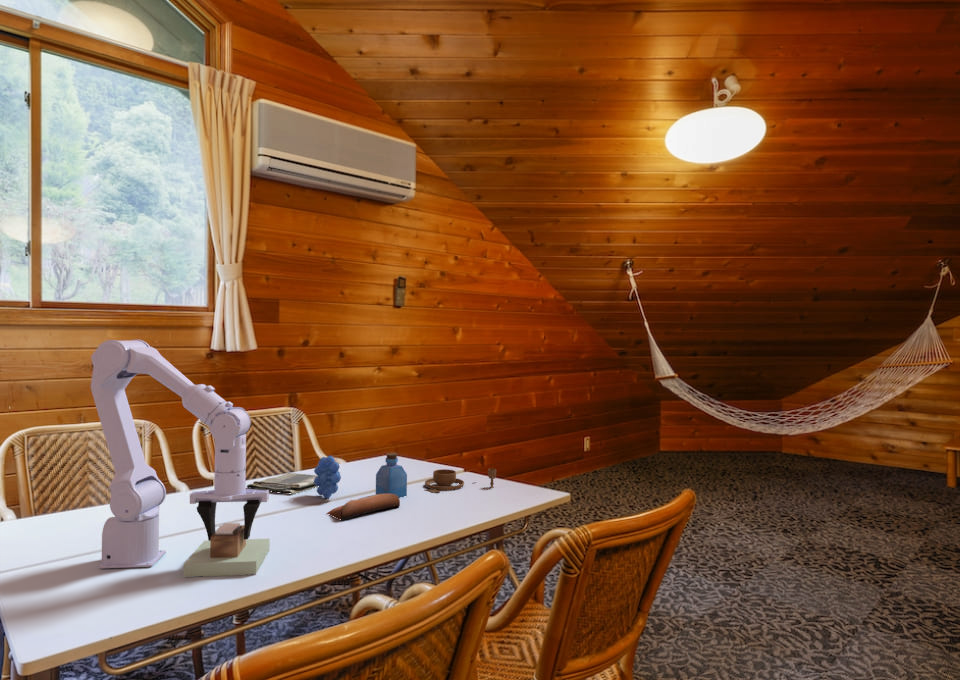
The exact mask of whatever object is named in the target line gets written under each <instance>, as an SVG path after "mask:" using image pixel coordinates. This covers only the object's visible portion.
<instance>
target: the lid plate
mask: <svg viewBox="0 0 960 680" xmlns="http://www.w3.org/2000/svg"><path fill="white" fill-rule="evenodd" d="M240 525H241V523H240V522H239V523H238V522H236V523H235V522H234V523H233V522H231V523H226V522H225V523H223V524H221V525H220V526H221V527H220V526H219V527H220V528H219V527H218V528H219V529H218V528H217V529H218V530H217V529H216V530H217V531H216V530H215V536H235V535H236V534H237V533H238V531H239V530H240Z"/></svg>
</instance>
